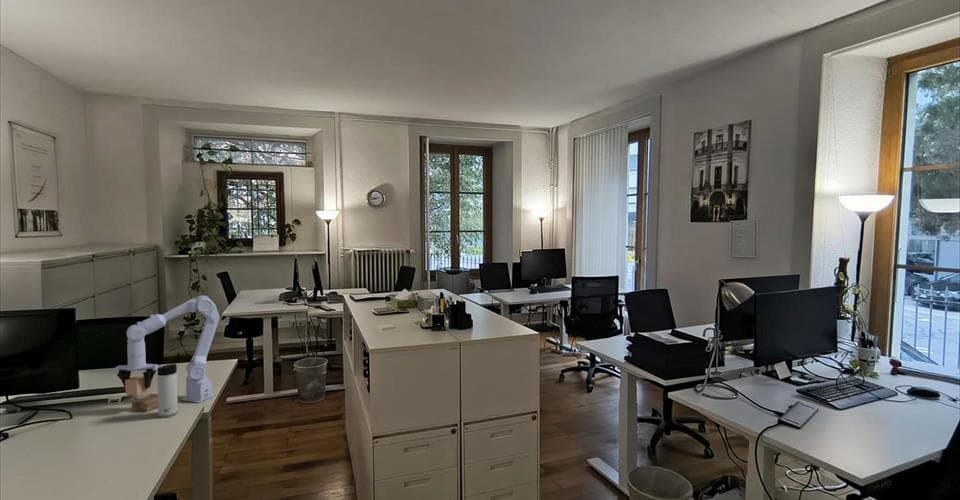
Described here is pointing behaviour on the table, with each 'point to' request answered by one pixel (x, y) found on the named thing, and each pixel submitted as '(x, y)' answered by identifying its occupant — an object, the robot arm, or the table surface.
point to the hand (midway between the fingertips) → (137, 388)
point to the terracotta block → (135, 386)
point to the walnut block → (145, 403)
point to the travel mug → (167, 391)
